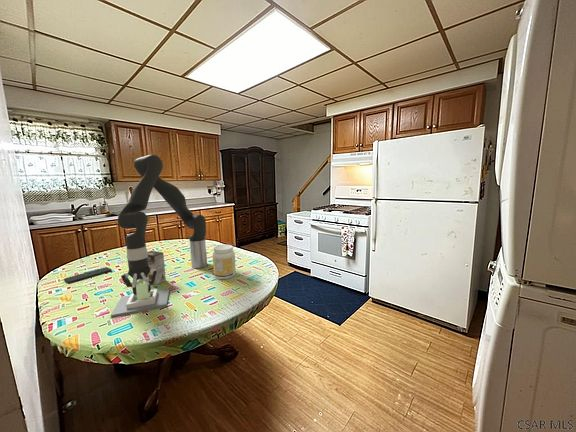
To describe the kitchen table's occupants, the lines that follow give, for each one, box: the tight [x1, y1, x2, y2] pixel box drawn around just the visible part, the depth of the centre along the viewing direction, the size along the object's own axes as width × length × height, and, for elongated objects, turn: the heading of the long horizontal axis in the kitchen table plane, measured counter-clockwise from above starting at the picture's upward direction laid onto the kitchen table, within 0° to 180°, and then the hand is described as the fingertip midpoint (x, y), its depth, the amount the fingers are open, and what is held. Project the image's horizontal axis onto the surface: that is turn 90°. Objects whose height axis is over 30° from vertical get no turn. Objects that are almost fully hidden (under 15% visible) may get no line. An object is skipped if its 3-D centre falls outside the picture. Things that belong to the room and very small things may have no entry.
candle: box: [136, 279, 150, 300], centre depth 103 cm, size 5×5×8 cm
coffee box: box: [147, 250, 167, 286], centre depth 125 cm, size 9×6×16 cm
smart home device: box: [63, 267, 113, 285], centre depth 134 cm, size 8×2×20 cm
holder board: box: [110, 288, 170, 318], centre depth 104 cm, size 20×16×3 cm
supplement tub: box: [212, 244, 237, 280], centre depth 131 cm, size 12×12×17 cm
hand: (142, 293), depth 103 cm, fingers closed on candle, 4 cm apart
